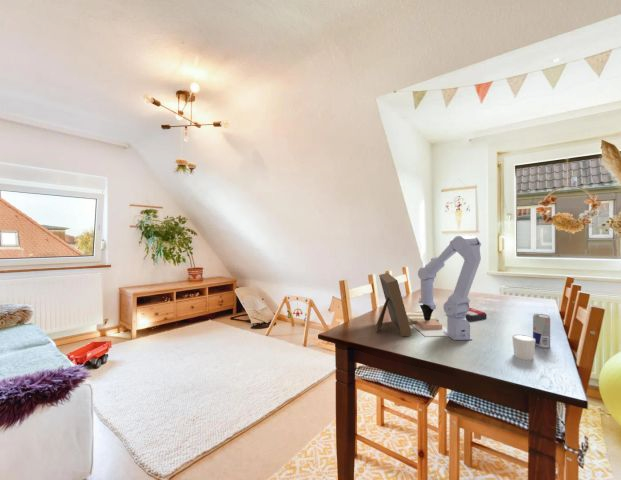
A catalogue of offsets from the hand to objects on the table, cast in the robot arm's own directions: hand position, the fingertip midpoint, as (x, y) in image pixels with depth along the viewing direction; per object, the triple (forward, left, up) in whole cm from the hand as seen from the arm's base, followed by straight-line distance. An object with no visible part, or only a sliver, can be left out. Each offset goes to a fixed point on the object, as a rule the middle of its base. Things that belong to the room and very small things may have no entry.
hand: (427, 320), depth 141 cm
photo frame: (-3, +19, -3) cm, 20 cm away
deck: (+10, 0, -3) cm, 10 cm away
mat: (-6, 0, -3) cm, 7 cm away
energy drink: (-27, -34, -3) cm, 43 cm away
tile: (-2, 0, -2) cm, 3 cm away
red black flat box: (+14, -27, -3) cm, 30 cm away
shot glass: (-36, -20, -3) cm, 41 cm away
